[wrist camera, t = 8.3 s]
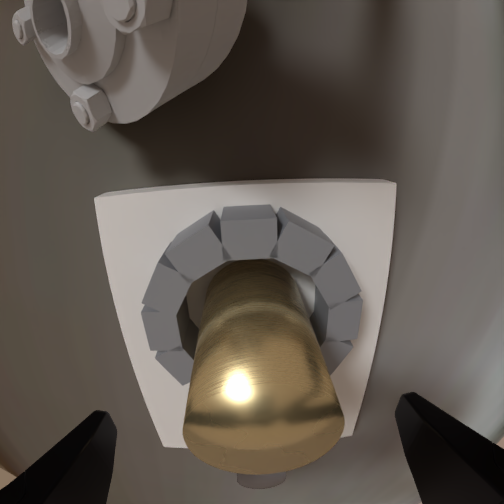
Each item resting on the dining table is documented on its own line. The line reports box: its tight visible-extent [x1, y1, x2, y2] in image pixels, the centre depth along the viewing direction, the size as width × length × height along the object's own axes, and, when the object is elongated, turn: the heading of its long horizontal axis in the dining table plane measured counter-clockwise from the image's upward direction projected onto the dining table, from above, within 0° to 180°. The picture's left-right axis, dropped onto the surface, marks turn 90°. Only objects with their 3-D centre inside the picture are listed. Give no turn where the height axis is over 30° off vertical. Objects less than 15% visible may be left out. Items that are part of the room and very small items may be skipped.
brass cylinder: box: [183, 259, 345, 475], centre depth 11 cm, size 4×4×8 cm
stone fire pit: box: [94, 178, 397, 489], centre depth 14 cm, size 14×18×6 cm
